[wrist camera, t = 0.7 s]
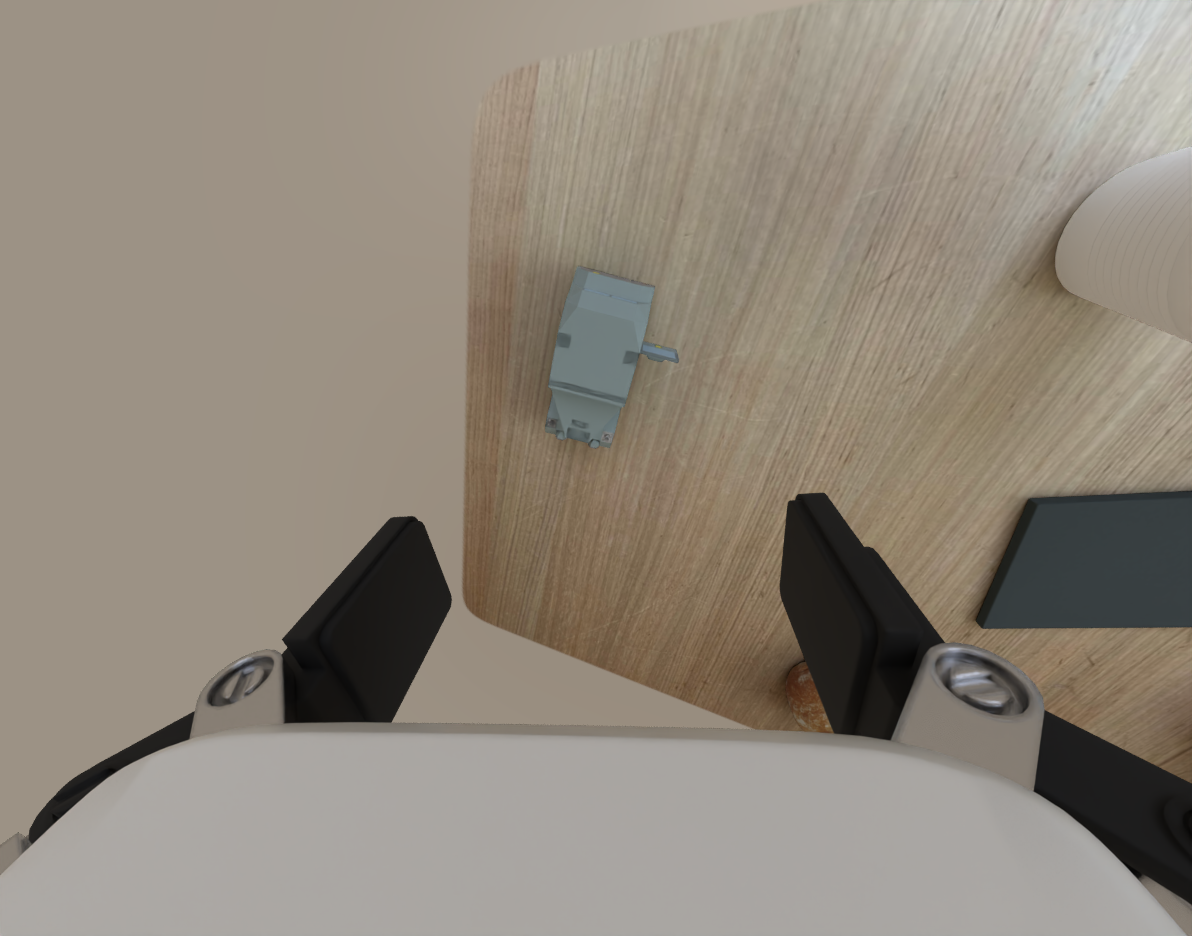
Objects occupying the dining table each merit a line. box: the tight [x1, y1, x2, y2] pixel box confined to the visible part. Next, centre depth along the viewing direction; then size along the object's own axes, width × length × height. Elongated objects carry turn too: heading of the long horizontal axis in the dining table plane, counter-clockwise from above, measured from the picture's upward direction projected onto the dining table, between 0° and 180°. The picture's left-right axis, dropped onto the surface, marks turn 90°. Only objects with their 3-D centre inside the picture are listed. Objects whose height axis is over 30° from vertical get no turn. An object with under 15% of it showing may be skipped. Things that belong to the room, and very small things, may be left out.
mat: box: [976, 491, 1192, 629], centre depth 30 cm, size 12×18×1 cm, turn 97°
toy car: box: [545, 266, 679, 449], centre depth 25 cm, size 6×10×5 cm, turn 167°
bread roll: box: [785, 662, 834, 734], centre depth 38 cm, size 10×10×8 cm
